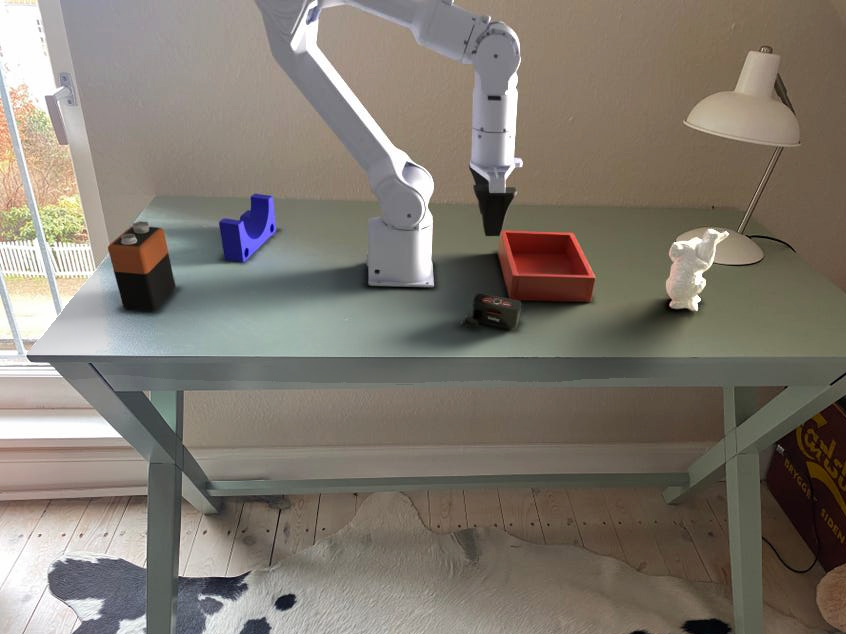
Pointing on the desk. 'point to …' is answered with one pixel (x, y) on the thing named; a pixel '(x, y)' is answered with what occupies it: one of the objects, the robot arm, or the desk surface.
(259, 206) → the blue pipe saddle mount
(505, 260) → the red open box
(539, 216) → the desk surface
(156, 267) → the battery
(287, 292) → the desk surface
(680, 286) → the koala figurine
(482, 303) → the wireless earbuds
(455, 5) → the robot arm
